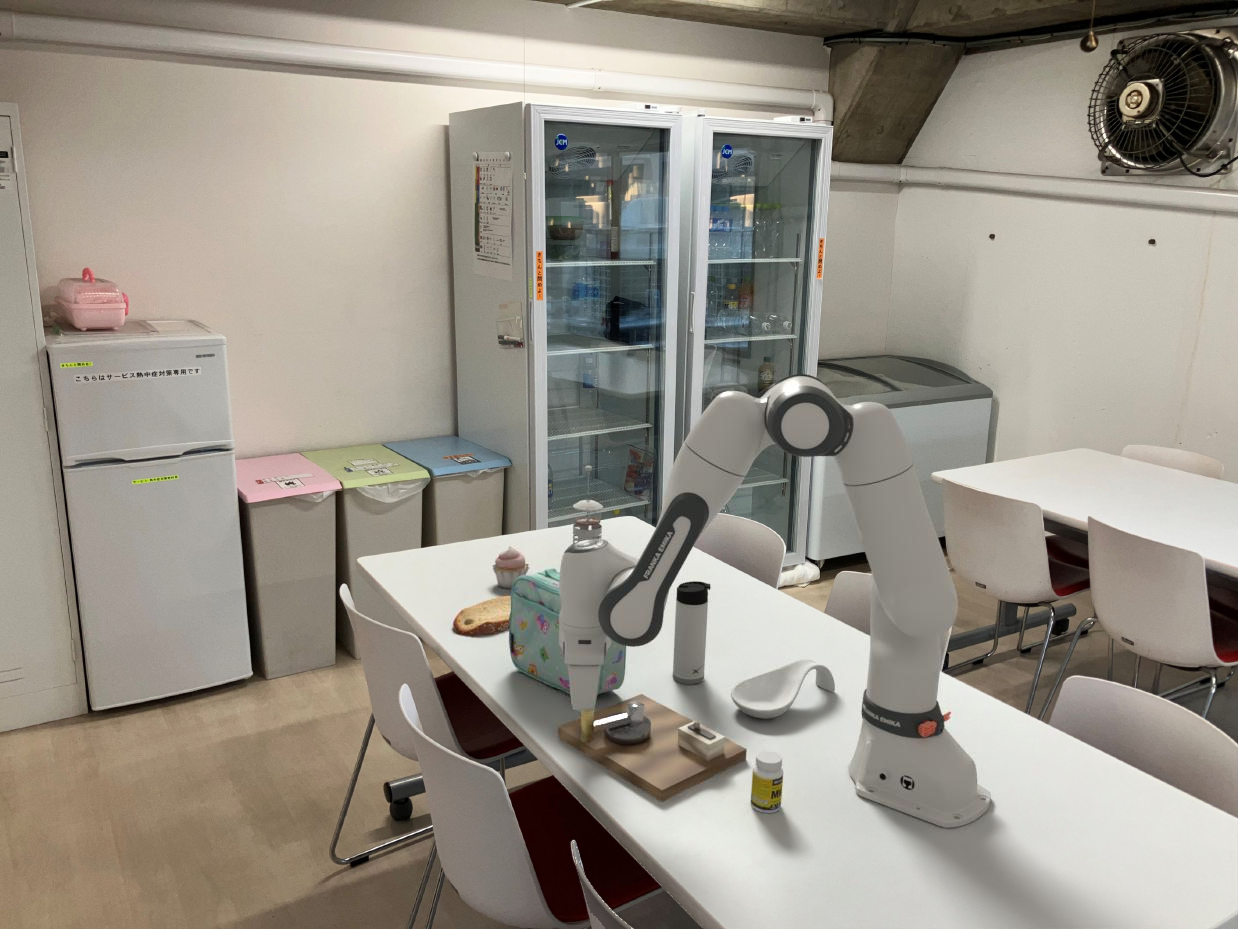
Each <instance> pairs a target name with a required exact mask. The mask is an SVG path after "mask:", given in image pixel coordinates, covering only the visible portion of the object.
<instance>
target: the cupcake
mask: <svg viewBox="0 0 1238 929" xmlns="http://www.w3.org/2000/svg"><path fill="white" fill-rule="evenodd" d="M494 563H495V564H492V565H491V567H492V568H491V569H492V570H493V572H494V574H495V577H496V582H497V584H498V586H499V587H500V588H504V589H512V586H513V584H514V582H515V580H516V579H517V578H518V577H519V576H522V575H527V574H528V571H529V569H530V567H529V566H530V564H529V563H526V557H525V556H524V554H523V553H522V552H520V551H518V550H517V549H516V548H514V547H512V546H510V545H509V546H508V549H507V550H504V551H502V552H500V553H499V554H498V556H497V557H496V558H495V560H494Z"/></svg>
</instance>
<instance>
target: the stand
mask: <svg viewBox="0 0 1238 929" xmlns="http://www.w3.org/2000/svg"><path fill="white" fill-rule="evenodd" d="M632 701H638V702H642V703H643V704H644V716H645V717H647V718H648V719H649V720H650V722H651V735H650V738H649V739H648V740H647V741H646V742H644V743H641V744H638V745H619V744H616V743H613V742H611V741H609V740H608V739H607V738H606V737H605V735H604V730H601V731H597V732H594V740H593V741H592V742H589V743H585V742H582V741H581V740H580V738H581V717H580V718H579V717H578V718H577V719H574V720H571V721H569V722H566V723H564V724H561V725H559V726H558V727H557V737H558V739H560V740H562V741H563V742H565V743H566V744H568V745H570V746H571V747H573V748H575V749H576V750H578V751H579V752H582V753H583V755H584V754H585V755H586V756H587V757H589V758H591V759H593V760H594V761H596V762H597V763H598V764H600V765H602V766H603V767H605V768H607V769H608V770H610V771H612V772H613V773H615V774H616V775H618V776H620V777H621V778H623V779H624V780H626V782H629V783H630V784H632V785H634V786H636V787H637V788H639V789H640V790H641V791H643V792H645V793H646V794H648V795H649V796H651V797H653V798H654V799H656V800H657V801H660V802H661V803H662V802H664V801H667V800H668V799H671V798H672V797H674V796H676V795H678V794H680V793H683V792H684V791H686V790H688V789H691V788H692V787H694V786H696V785H698V784H700V783H702V782H704V781H707V780H708V779H710V778H712V777H715V776H716V775H718V774H721V773H722V772H724V771H727V770H729V769H731V768H732V767H734V766H736V765H738V764H740V763H742V762H745V761H746V760H747V748H746V747H743V746H742V745H740V744H738V743H736V742H734V741H732V740H730V739H729V738H726V737H725V735H723V734H720V733H718V732H717V731H716V730H713V729H711V728H709V727H707V726H705V725H704V724H702V723H700V722H699V721H697V720H692V719H691V718H689V717H686V716H685V715H683V714H681V713H679V712H677V711H676V710H673V709H671V708H670V707H667V706H666V705H664V704H662V703H659V702H657V701H656V700H654V699H652V698H650V697H648V696H647V695H644V694H642V693H641V694H637V695H635V696H633V697H631V698H628V699H624V700H622V701H620V702H617V703H615V704H612V705H610V706H607V707H604V708H602V709H599V710H597V711H594V721H597V720H601V719H605V718H607V717H609V716H610V715H612V714H615V713H620V712H627V704H628V703H629V702H632Z"/></svg>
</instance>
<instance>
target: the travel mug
mask: <svg viewBox="0 0 1238 929" xmlns="http://www.w3.org/2000/svg"><path fill="white" fill-rule="evenodd" d="M710 590H711V583H707V582H705V581H700V580H699V581H698V580H697V581H695V580H694V581H686V582H683V583H680V584H679V585H678V586H677V588H676V598H675V615H674V616H675V618H674V619H675V620H674V637H673V638H674V641H673V663H672V665H673V666H672V679H674V681H675V682H677V683H680V684H683V685H698V684H700V683H702V681H704V680H705V666H706V647H707V646H706V645H707V643H706V642H707V630H708V629H707V625H708V606H709V605H708V604H709V597H708V596H709V591H710Z"/></svg>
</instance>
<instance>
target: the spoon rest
mask: <svg viewBox="0 0 1238 929" xmlns="http://www.w3.org/2000/svg"><path fill="white" fill-rule="evenodd" d="M812 670H815V671H816V672H815V684H816V685H817V686H818V687H820V688H821V689H824V690H826V691H828V692H835V691H836V684H835V679H834V676H833V674H832V672H831V670H830V669H829V668H828V667H827V666H826V665H824V664H819V662H817V661H815V660H813V659H809V658H803V659H799V660H796V661H793V662H790V663H788V664H786V665H785V664H784V665H782V666H781V667H779V668H776V669H772V670H770V671H767V672H764V673H761V674H759V675H755V676H752V677H750V678H747V679H744V680H742V681H740V682H738V683H736V685H734V686H733V688H732V689H731V692H730V697H731V699H732V702H733V703H734V704H735V706H736V707H737V708H738V709H739V710H740V711H742V712H743V713H745V714H746V715H748V716H750V717H753V718H758V719H773V718H777V717H779V716H781V715H783V714H785V713H786V712H787V711H788V710H789V709H790V708H791V707H792V706H793V704H794V703H795V700H796V698H797V696H798V694H799V692H800V690H801V687H802V686H803V683H804V680H805V678H806V676H807V675H808V674H809V673H810V672H811V671H812Z"/></svg>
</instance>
